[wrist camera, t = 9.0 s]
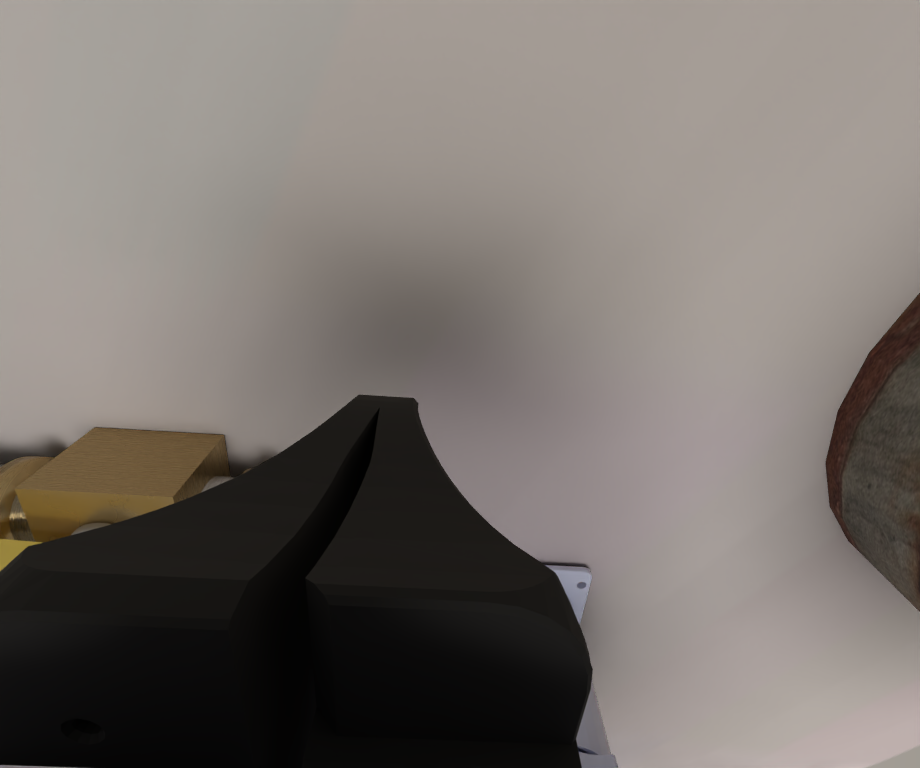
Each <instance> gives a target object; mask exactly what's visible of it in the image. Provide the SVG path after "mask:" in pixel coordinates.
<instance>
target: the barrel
mask: <svg viewBox="0 0 920 768" xmlns="http://www.w3.org/2000/svg"><path fill="white" fill-rule="evenodd" d="M826 472H827V482H828V493H829V503H830V508H831V509H832V511H833V513H834V515H835V517H836V519H837V521H838V522H839V524H840V526H841V528H842V530H843V532H844V534H845V536H846V537H847V539H848V541H849V542H850V543H851V544H852V545H853V546H854V547H855V548H856V549H857V550H858V551H859V552H860V553H861V554H862V555H863V556H864V557H865V558H866V559H867V560H868V561H869V562H870V563H871V564H872V565H873V566H874V567H875V568H876V569H877V570H878V571H879V572H880V573H881V574H882V575H883V576H884V577H885V578H886V579H887V580H888V581H889V582H890V583H891V584H892V585H893V586H894V587H895V588H896V589H897V590H898V591H899V592H900V593H901V594H902V595H903V596H904V597H906V598H907V599H908V600H909V601H910V602H911V603H912V604H913V605H914V606H915V607H916V608H917V609H918V610H919V611H920V293H919V295H918V296H917V297H916V298H915V299H914V300H913V302H912V303H911V304H910V305H909V306H908V308H907V309H906V310H905V311H904V312H903V314H902V315H901V316H900V317H899V318H898V319H897V321H896V322H895V323H894V324H893V325H892V327H891V328H890V329H889V330H888V331H887V333H886V334H885V335H884V336H883V337H882V338H881V340H880V341H879V342H878V343H877V344H876V346H875V347H874V348H873V349H872V350H871V352H870V353H869V354H868V356H867V358H866V360H865V362H864V364H863V366H862V367H861V369H860V371H859V373H858V375H857V377H856V378H855V380H854V382H853V384H852V386H851V388H850V390H849V391H848V393H847V395H846V397H845V399H844V401H843V403H842V404H841V406H840V408H839V410H838V413H837V417H836V422H835V426H834V430H833V434H832V438H831V442H830V446H829V451H828V455H827V459H826Z"/></svg>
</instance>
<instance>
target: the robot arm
mask: <svg viewBox="0 0 920 768" xmlns="http://www.w3.org/2000/svg"><path fill="white" fill-rule="evenodd" d="M591 580H592V575H591V571H590V570H589V569H588V568H586V567H574V566H554V565H544V564H542V563H541V562H539V561H538V560H536V559H535V558H533V557H532V556H530V555H529V554H527V553H526V552H524V551H523V550H521V549H520V548H518V547H517V546H516V545H514V544H513V543H512V542H510V541H509V540H508V539H507V538H505V537H504V536H503V535H502V534H501V533H499V532H498V531H497V530H496V529H495V528H493V527H492V526H491V525H490V524H489V523H488V522H487V521H486V520H485V519H484V518H483V517H482V516H481V515H480V514H479V513H478V512H477V511H476V510H475V509H474V508H473V507H472V506H471V505H470V504H469V502H468V501H467V500H466V499H465V498H464V496H463V495H462V494H461V493H460V492H459V490H458V489H457V488H456V486H455V485H454V484H453V482H452V481H451V479H450V478H449V477H448V475H447V474H446V472H445V470H444V469H443V467H442V466H441V464H440V462H439V460H438V459H437V457H436V455H435V453H434V451H433V449H432V447H431V445H430V443H429V441H428V439H427V436H426V434H425V432H424V429H423V427H422V424H421V420H420V417H419V413H418V402H417V401H416V400H415V399H414V398H403V397H387V396H370V395H358V396H357V397H355V398H354V399H353V400H352V401H350V402H349V403H348V404H347V405H346V406H344V407H343V408H342V409H341V410H339V411H338V412H337V413H336V414H334V415H333V416H332V417H331V418H329V419H328V420H327V421H325V422H324V423H323V424H321V425H320V426H319V427H318V428H316V429H315V430H314V431H312V432H311V433H309V434H308V435H306V436H305V437H303V438H302V439H300V440H299V441H297V442H296V443H294V444H293V445H291V446H290V447H288V448H287V449H286V450H284V451H283V452H281V453H279V454H278V455H276V456H274V457H273V458H271V459H269V460H267V461H266V462H264V463H262V464H260V465H258V466H257V467H255V468H253V469H251V470H249V471H247V472H245V473H243V474H241V475H239V476H237V477H235V478H233V479H231V480H229V481H226V482H224V483H222V484H219V485H217V486H215V487H213V488H210V489H208V490H206V491H203V492H201V493H199V494H197V495H194V496H192V497H190V498H187V499H184V500H182V501H179V502H176V503H174V504H171V505H168V506H166V507H163V508H160V509H157V510H154V511H151V512H148V513H145V514H142V515H139V516H136V517H133V518H130V519H127V520H124V521H121V522H117V523H114V524H111V525H107V526H104V527H100V528H96V529H92V530H89V531H85V532H81V533H78V534H74V535H70V536H66V537H63V538H59V539H55V540H51V541H48V542H44V543H39V544H35V545H31V546H28V547H26V548H25V549H24V550H23V551H22V552H21V553H20V554H19V555H17V556H16V557H15V558H14V559H13V560H12V561H11V562H10V563H9V564H8V565H7V566H6V567H4V568H3V569H2V570H1V571H0V768H618V765H617V762H616V758H615V755H613V754H611V752H610V748H609V744H608V740H607V736H606V732H605V728H604V725H603V721H602V717H601V713H600V709H599V705H598V701H597V697H596V693H595V689H594V686H593V682H592V670H593V669H592V666H591V663H590V657H589V652H588V649H587V645H586V642H585V639H584V636H583V633H582V630H581V628H580V623H581V619H582V615H583V611H584V607H585V603H586V599H587V596H588V592H589V588H590V584H591ZM579 582H582V583H579Z"/></svg>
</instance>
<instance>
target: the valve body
mask: <svg viewBox="0 0 920 768" xmlns="http://www.w3.org/2000/svg"><path fill="white" fill-rule="evenodd" d="M251 469H253V468H249V469H247V470H245V471H244V472H243V473H245V472H247V471H249V470H251ZM243 473H242V474H243ZM233 478H235V477H231V476H230V470H229V464H228V457H227V451H226V445H225V439H224V435H215V434H198V433H180V432H163V431H146V430H129V429H111V428H93V429H92V430H91V431H89V432H88V433H87V434H85V435H84V436H83V437H81V438H80V439H79V440H78V441H76V442H75V443H74V444H72V445H71V446H70V447H68V448H67V449H66V450H64V451H63V452H62V453H60V454H59V455H58V456H56V457H38V456H25V457H20V458H17V459H14V460H12V461H10V462H8V463H6V464H0V539H8V540H20V541H31V542H43V543H44V542H48V541H51V540H55V539H59V538H63V537H66V536H70V535H71V534H72V533H73V532H74V531H75V530H76V529H77V528H79V527H81V526H83V525H86V524H90V523H108V524H114V523H117V522H121V521H124V520H127V519H130V518H133V517H136V516H139V515H142V514H145V513H148V512H151V511H154V510H157V509H160V508H163V507H166V506H168V505H171V504H174V503H176V502H179V501H182V500H184V499H187V498H190V497H192V496H194V495H197V494H199V493H201V492H203V491H206V490H208V489H210V488H213V487H215V486H217V485H219V484H222V483H224V482H226V481H229V480H231V479H233Z"/></svg>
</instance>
